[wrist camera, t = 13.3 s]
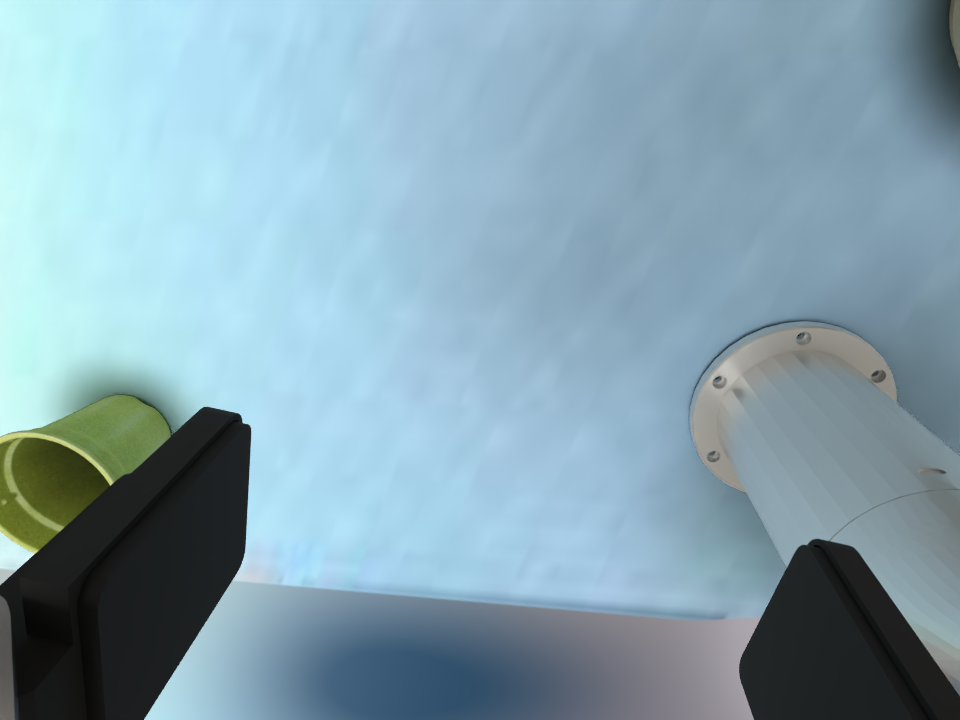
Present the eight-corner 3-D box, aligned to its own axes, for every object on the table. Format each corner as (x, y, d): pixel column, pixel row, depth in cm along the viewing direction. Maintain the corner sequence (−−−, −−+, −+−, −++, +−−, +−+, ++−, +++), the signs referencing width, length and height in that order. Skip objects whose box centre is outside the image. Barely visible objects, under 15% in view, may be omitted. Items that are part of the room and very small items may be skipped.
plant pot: (45, 386, 45) (-60, 449, 37) (160, 359, 43) (76, 420, 35) (106, 491, 48) (23, 571, 40) (215, 471, 46) (150, 549, 38)
